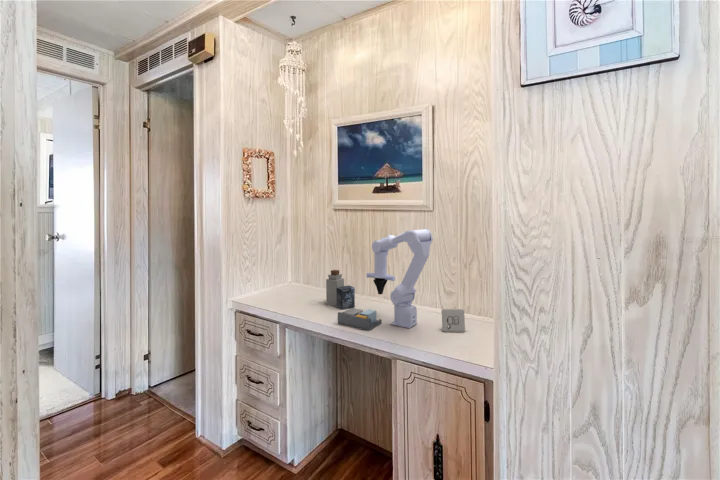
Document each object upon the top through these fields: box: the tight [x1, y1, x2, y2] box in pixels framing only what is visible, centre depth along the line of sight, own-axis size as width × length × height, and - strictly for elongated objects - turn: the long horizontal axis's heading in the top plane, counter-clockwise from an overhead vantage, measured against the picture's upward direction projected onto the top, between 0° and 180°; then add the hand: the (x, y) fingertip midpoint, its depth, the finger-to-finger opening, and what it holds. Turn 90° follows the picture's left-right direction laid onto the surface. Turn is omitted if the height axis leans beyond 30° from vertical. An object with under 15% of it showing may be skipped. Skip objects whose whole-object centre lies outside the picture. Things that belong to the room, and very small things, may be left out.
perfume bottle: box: [325, 269, 345, 307], centre depth 195 cm, size 7×7×18 cm
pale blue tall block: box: [360, 308, 378, 323], centre depth 163 cm, size 4×7×6 cm, turn 146°
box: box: [336, 284, 356, 310], centre depth 189 cm, size 8×6×11 cm
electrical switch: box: [441, 308, 466, 333], centre depth 156 cm, size 9×5×9 cm, turn 87°
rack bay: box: [337, 307, 383, 331], centre depth 164 cm, size 17×10×6 cm, turn 57°
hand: (380, 293), depth 175 cm, fingers closed
